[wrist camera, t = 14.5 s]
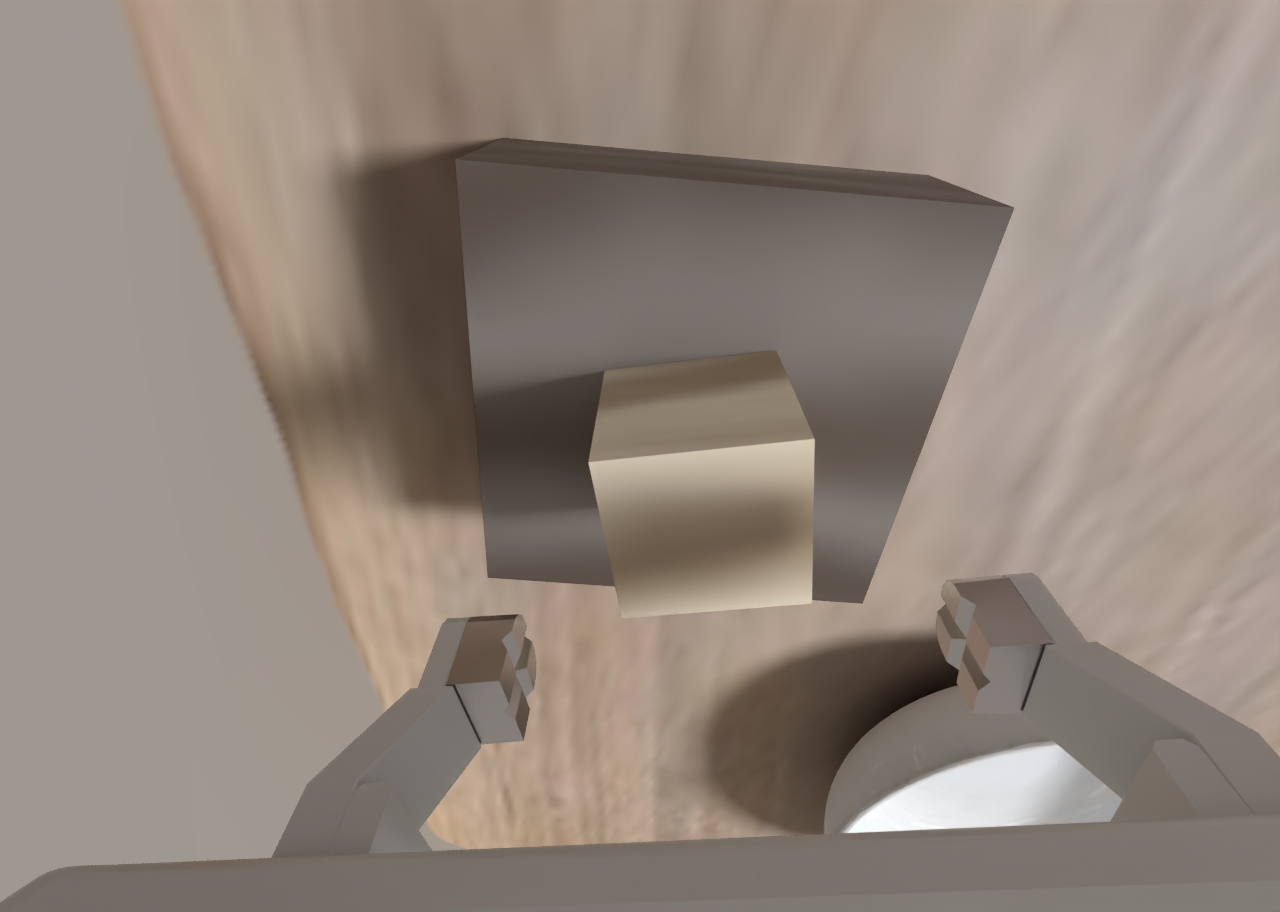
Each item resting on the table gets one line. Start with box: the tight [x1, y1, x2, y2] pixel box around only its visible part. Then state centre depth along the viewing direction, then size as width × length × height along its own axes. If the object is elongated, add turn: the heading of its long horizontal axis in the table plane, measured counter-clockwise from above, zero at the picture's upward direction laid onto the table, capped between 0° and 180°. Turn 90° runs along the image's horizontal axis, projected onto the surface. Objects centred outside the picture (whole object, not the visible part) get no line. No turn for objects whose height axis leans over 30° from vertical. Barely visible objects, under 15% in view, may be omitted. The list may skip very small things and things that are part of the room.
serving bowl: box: [823, 685, 1122, 834], centre depth 34 cm, size 21×21×7 cm
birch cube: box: [588, 350, 815, 618], centre depth 17 cm, size 5×5×5 cm
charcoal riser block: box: [455, 138, 1014, 603], centre depth 21 cm, size 14×14×6 cm
